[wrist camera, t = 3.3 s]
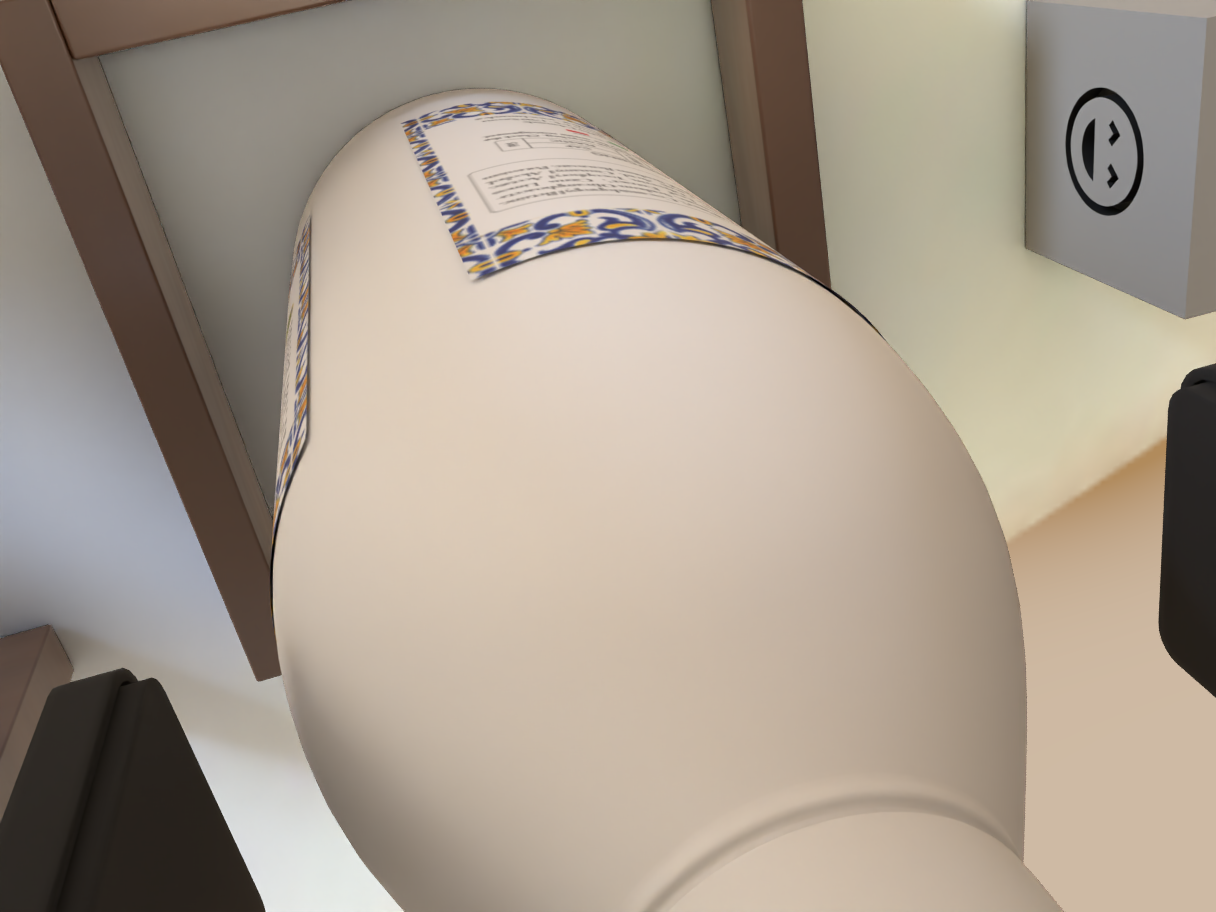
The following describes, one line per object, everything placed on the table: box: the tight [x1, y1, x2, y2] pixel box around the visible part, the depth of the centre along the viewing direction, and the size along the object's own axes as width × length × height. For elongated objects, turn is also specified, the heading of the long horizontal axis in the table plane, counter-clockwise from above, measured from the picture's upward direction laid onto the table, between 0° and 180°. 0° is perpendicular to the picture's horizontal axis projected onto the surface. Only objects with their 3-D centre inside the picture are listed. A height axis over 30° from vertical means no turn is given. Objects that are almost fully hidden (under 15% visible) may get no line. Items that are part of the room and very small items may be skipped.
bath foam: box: [270, 88, 1064, 912], centre depth 13 cm, size 7×7×20 cm
